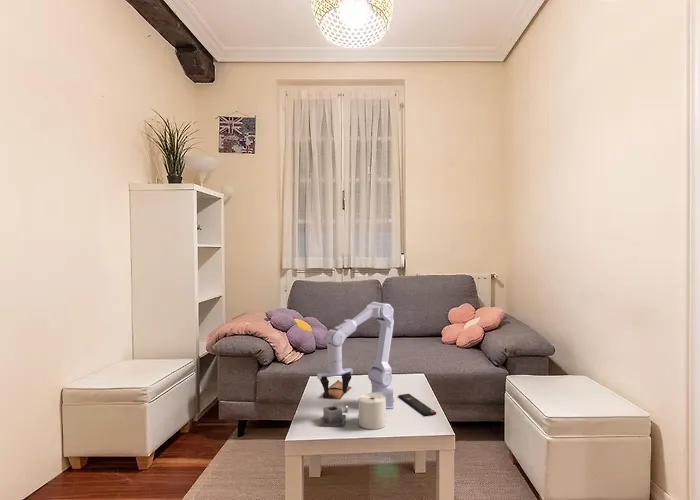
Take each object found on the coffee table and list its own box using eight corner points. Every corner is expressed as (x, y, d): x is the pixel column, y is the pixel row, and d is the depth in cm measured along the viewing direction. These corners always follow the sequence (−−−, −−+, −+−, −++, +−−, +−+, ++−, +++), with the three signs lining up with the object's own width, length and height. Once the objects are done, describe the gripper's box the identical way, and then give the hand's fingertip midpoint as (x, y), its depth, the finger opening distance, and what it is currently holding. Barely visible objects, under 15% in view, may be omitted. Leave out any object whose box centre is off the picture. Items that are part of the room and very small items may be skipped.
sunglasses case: (340, 400, 189) (333, 386, 190) (328, 406, 190) (320, 393, 191) (352, 387, 206) (345, 374, 207) (341, 393, 208) (334, 381, 209)
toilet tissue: (358, 429, 158) (358, 403, 158) (359, 416, 170) (358, 391, 170) (387, 429, 158) (386, 403, 158) (385, 416, 170) (385, 391, 170)
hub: (346, 417, 170) (345, 408, 170) (343, 426, 161) (343, 417, 161) (323, 416, 171) (323, 408, 170) (320, 426, 162) (320, 417, 162)
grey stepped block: (336, 414, 170) (336, 404, 170) (342, 419, 165) (342, 409, 165) (323, 417, 167) (323, 407, 167) (329, 422, 162) (328, 412, 162)
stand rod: (348, 411, 176) (347, 405, 176) (347, 412, 174) (347, 406, 174) (344, 411, 176) (344, 405, 176) (344, 412, 175) (344, 406, 175)
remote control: (408, 396, 193) (408, 393, 193) (436, 416, 171) (436, 412, 171) (398, 398, 191) (398, 395, 191) (425, 418, 169) (425, 414, 169)
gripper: (347, 355, 175) (348, 388, 175) (314, 360, 169) (315, 393, 169) (354, 359, 169) (355, 393, 169) (320, 364, 163) (321, 399, 163)
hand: (335, 394), depth 169 cm, fingers open, 7 cm apart
